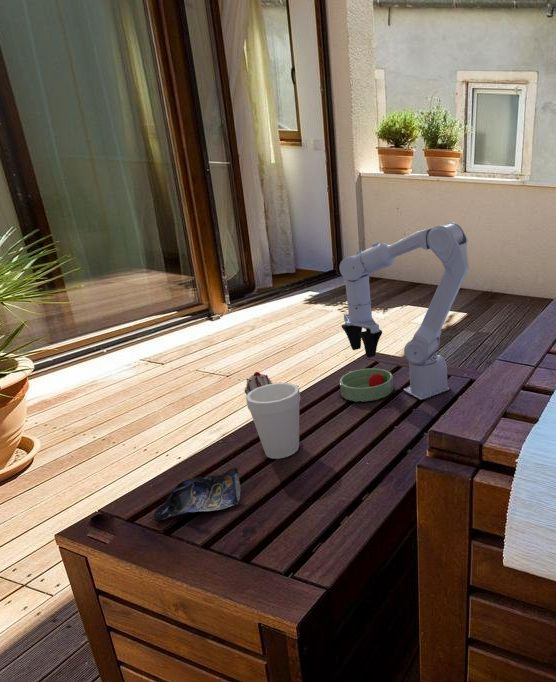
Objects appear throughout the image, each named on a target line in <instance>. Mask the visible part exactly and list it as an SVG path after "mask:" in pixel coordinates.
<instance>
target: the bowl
mask: <svg viewBox="0 0 556 682" xmlns="http://www.w3.org/2000/svg"><path fill="white" fill-rule="evenodd" d="M374 374H381V375H383V376H384V375H386V377H387V380H388V381H386V382H385V383H383V384H380V385H377V386H374V387H370V386H369V383H368V382H369V378H370V377H371V376H372V375H374ZM393 377H394V376H393V374H392V372H391V371H388V370H386V369H382V368H372V367H371V368H369V367H368V368H362V369H361V368H360V369H356V370H351V371H349V372H347V373H345V374H343V375H342V376H341V377H340V378H339V389H340V391H339V392H340V396H341V397H342V398H344V399H345V400H347V401H352V402H371V401H377V400H380V399H383V398H385V397H388V396H389V395H390V394H392V392H393V391H394V388H395V387H394V378H393Z"/></svg>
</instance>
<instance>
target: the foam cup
mask: <svg viewBox="0 0 556 682" xmlns="http://www.w3.org/2000/svg"><path fill="white" fill-rule="evenodd" d="M245 400H246V401H245V402H246V405H247V409H248V411H249V413H250V415H251V417H252V421H253V423H254V426H255V429H256V432H257V435H258V437H259V438H258V439H259V440H260V443H261V446H262V449H263V452H264V454H265V456H266V457H267V458H269V459H273V460H280V459H284V458H288V457H290V456H292V455H294V454H295V453H296V452H298V451H299V447H300V401H301V392H300V388H299V387H298V386H297V384H292V383H289V382H276V383H273V384H268V385H264V386H261V387H258V388H256V389H254V390H252V391H250V392H249V393H248V394H247V395H246V396H245Z"/></svg>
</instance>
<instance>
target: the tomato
mask: <svg viewBox="0 0 556 682" xmlns="http://www.w3.org/2000/svg"><path fill="white" fill-rule="evenodd" d="M386 381H388V380H387V377H386V375H384V376H383V375H381V374H374V375H372V376H371V377H370V378H369V382H368V383H369V386H370V387H374V386H377V385H380V384H383V383H385V382H386Z"/></svg>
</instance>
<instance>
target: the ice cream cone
mask: <svg viewBox="0 0 556 682" xmlns="http://www.w3.org/2000/svg"><path fill="white" fill-rule="evenodd" d="M268 384H274V383H273V382H272V381H271V379H270V377H269V376H268V374H263V373H260V372H259V371H255V372H254V373H253V375H251V376H250V377H249V378H247V379H246V384H245V385H246V386H245V388H244V390H243V391H244V393H245V395H246V396H247V394H248V393H249V392H250V391H252V390H254V389H256V388H258V387H261V386H264V385H268Z"/></svg>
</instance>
